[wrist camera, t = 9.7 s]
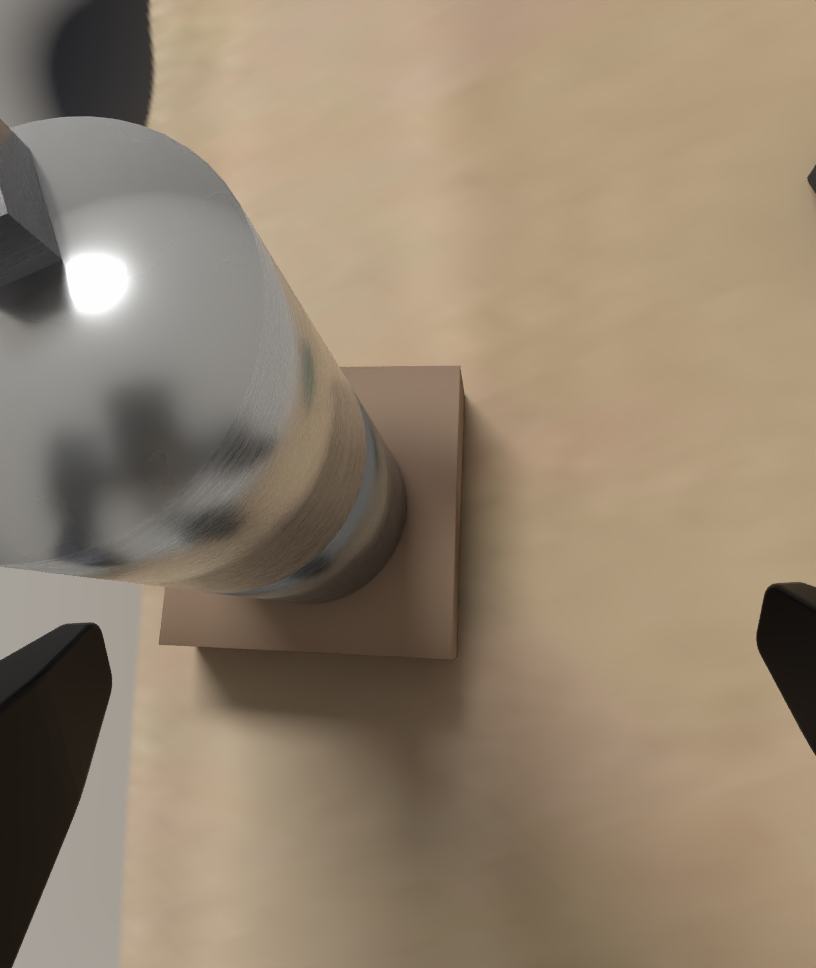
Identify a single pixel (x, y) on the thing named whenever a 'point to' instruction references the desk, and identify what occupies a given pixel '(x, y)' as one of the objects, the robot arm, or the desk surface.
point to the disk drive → (812, 178)
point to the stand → (410, 571)
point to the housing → (170, 384)
